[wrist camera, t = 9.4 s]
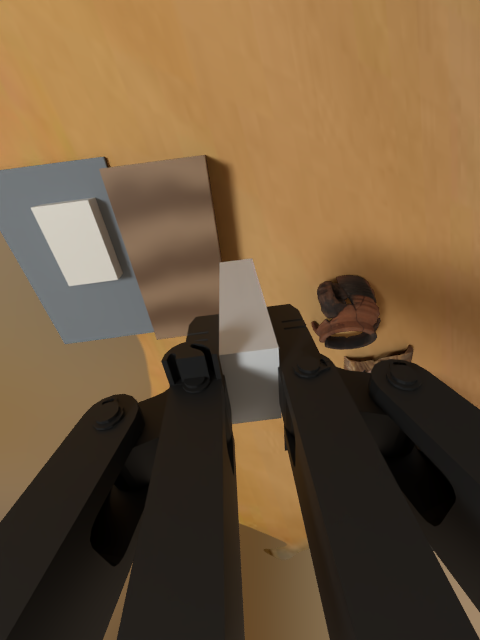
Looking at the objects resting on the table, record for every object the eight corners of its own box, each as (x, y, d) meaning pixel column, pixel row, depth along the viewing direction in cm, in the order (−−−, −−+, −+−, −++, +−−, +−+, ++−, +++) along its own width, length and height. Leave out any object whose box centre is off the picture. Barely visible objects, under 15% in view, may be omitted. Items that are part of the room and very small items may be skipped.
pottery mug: (384, 291, 40) (397, 342, 36) (326, 312, 46) (332, 357, 42) (344, 249, 33) (355, 306, 29) (283, 280, 39) (284, 331, 35)
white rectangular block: (87, 200, 28) (95, 197, 30) (30, 207, 28) (41, 204, 30) (118, 279, 33) (122, 273, 34) (69, 286, 33) (76, 279, 34)
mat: (-29, 174, 28) (-32, 174, 28) (104, 156, 28) (103, 156, 28) (66, 342, 40) (65, 344, 39) (160, 329, 40) (160, 331, 39)
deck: (112, 167, 29) (98, 168, 25) (205, 155, 29) (204, 155, 25) (162, 323, 39) (156, 339, 36) (229, 314, 39) (231, 329, 36)
